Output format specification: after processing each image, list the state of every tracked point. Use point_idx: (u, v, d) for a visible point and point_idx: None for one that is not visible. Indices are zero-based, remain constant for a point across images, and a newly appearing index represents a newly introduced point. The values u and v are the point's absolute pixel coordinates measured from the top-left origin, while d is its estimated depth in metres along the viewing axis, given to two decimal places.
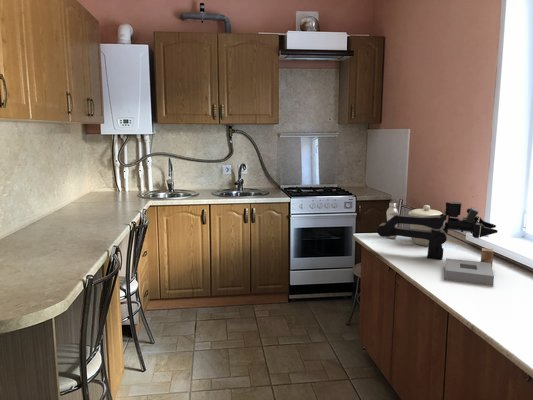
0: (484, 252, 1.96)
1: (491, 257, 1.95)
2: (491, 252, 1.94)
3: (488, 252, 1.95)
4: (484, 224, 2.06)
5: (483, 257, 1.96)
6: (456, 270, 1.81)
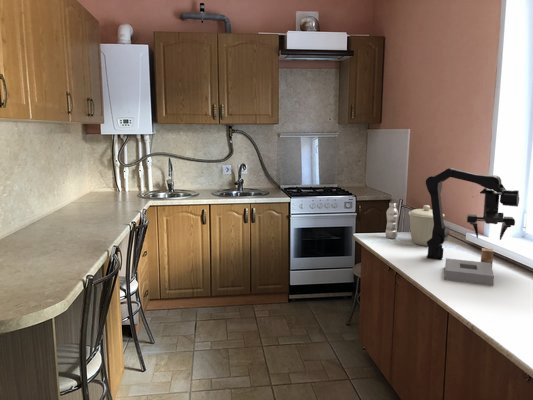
0: (484, 252, 1.96)
1: (491, 257, 1.95)
2: (491, 252, 1.94)
3: (488, 252, 1.95)
4: (501, 229, 1.93)
5: (483, 257, 1.96)
6: (456, 270, 1.81)
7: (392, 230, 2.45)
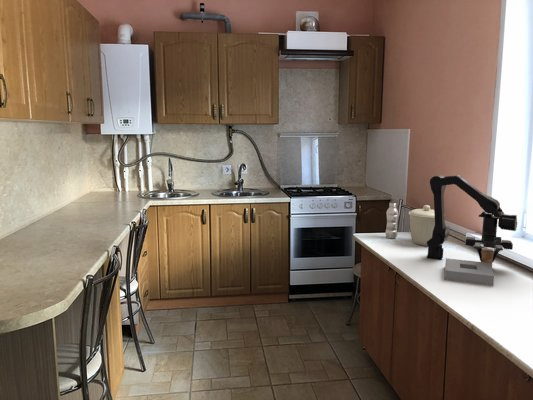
0: (484, 252, 1.96)
1: (491, 257, 1.95)
2: (491, 252, 1.94)
3: (488, 252, 1.95)
4: (494, 252, 1.96)
5: (483, 257, 1.96)
6: (456, 270, 1.81)
7: (392, 230, 2.45)
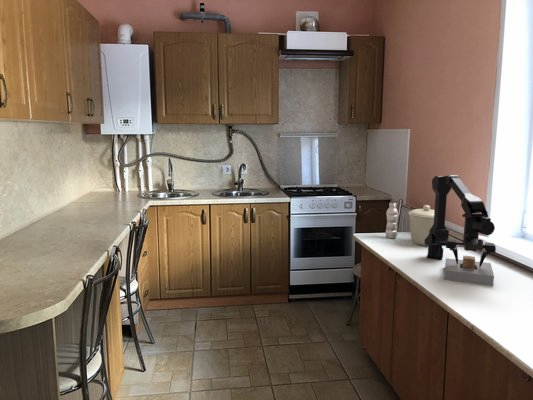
0: (465, 260, 1.84)
1: (473, 265, 1.83)
2: (473, 260, 1.83)
3: (469, 260, 1.83)
4: (481, 255, 1.83)
5: (464, 265, 1.85)
6: (456, 270, 1.81)
7: (392, 230, 2.45)
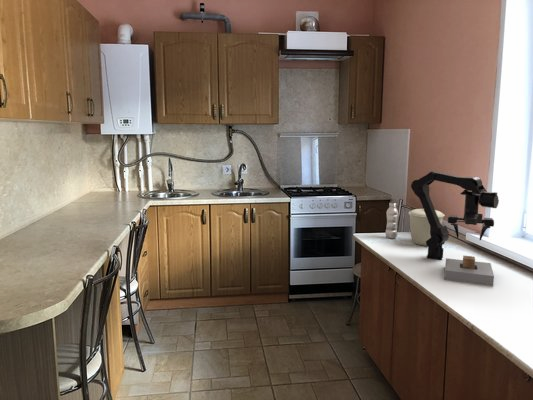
0: (465, 260, 1.84)
1: (473, 265, 1.83)
2: (472, 260, 1.83)
3: (469, 260, 1.83)
4: (481, 230, 1.96)
5: (464, 265, 1.85)
6: (456, 270, 1.81)
7: (392, 230, 2.45)
